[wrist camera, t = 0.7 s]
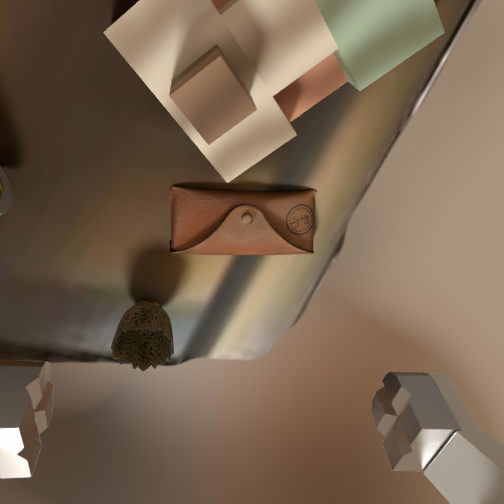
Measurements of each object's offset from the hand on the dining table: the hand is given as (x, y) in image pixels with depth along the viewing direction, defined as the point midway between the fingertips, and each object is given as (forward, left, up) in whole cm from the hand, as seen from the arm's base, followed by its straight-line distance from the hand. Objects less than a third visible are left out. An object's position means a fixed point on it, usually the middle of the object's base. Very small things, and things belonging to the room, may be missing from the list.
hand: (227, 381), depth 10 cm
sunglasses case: (+17, -7, -37) cm, 41 cm away
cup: (+20, -25, -37) cm, 49 cm away
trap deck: (+1, +7, -36) cm, 37 cm away
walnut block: (+1, 0, -33) cm, 33 cm away
